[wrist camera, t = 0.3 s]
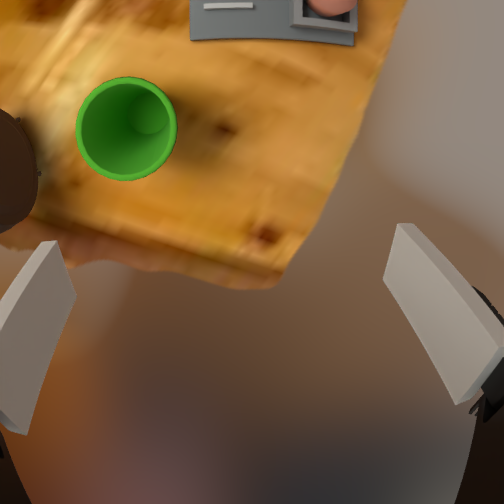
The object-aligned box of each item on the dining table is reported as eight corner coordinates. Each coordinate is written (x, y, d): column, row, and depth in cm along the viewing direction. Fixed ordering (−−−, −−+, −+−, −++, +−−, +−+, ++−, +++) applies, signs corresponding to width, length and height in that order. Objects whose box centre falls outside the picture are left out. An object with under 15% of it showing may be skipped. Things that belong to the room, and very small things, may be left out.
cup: (160, 58, 29) (136, 54, 20) (204, 121, 34) (198, 142, 24) (98, 106, 31) (56, 124, 21) (141, 164, 35) (116, 201, 26)
